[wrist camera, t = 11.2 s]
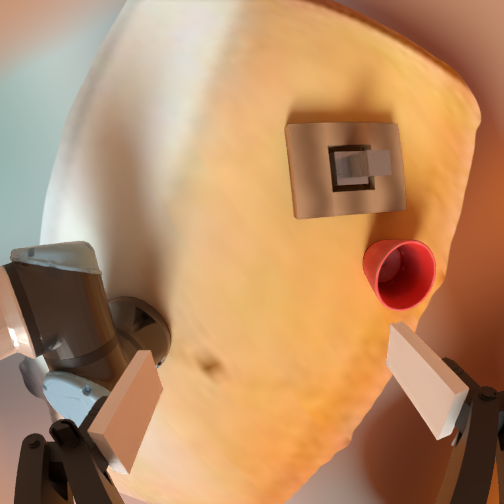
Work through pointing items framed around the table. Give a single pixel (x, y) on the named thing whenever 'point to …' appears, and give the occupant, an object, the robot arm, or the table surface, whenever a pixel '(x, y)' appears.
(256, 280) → the table surface
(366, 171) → the grey stepped bar
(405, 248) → the flower pot
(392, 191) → the well block
